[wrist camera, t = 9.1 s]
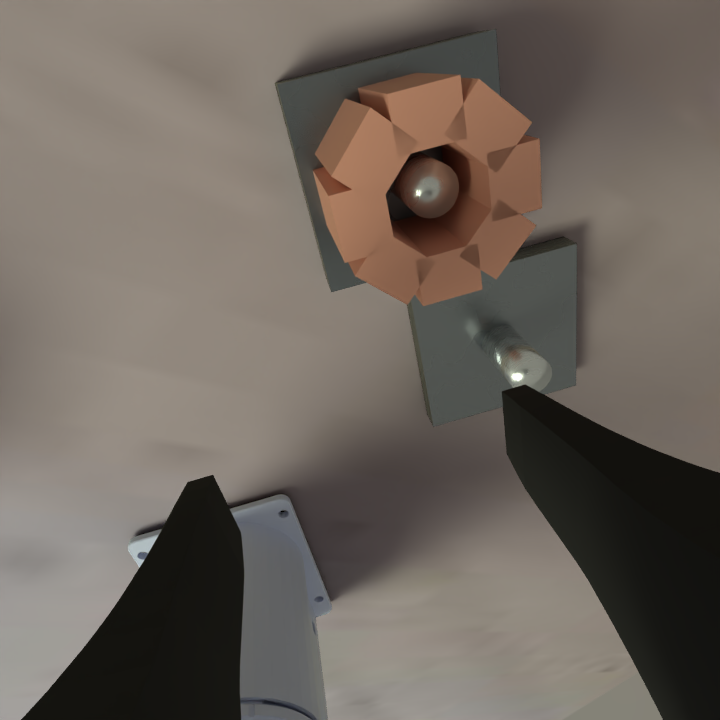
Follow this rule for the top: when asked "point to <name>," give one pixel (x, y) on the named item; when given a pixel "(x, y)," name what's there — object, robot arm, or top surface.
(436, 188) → the square peg base
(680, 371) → the top surface
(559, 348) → the stand
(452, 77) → the ring
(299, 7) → the top surface
